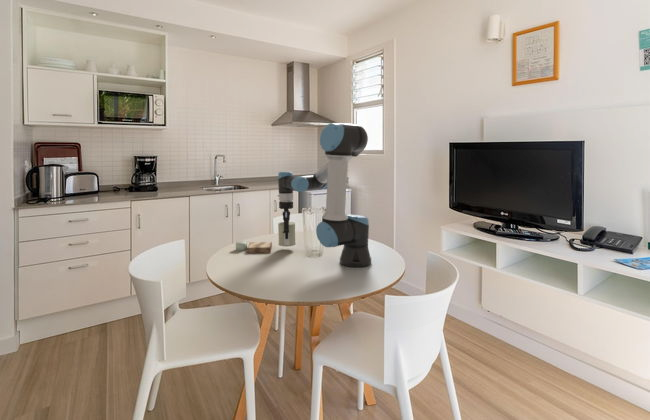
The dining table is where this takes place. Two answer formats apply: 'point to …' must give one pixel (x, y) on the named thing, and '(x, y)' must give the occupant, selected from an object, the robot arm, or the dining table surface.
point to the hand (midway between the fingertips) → (287, 242)
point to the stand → (259, 247)
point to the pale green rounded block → (241, 246)
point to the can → (291, 234)
